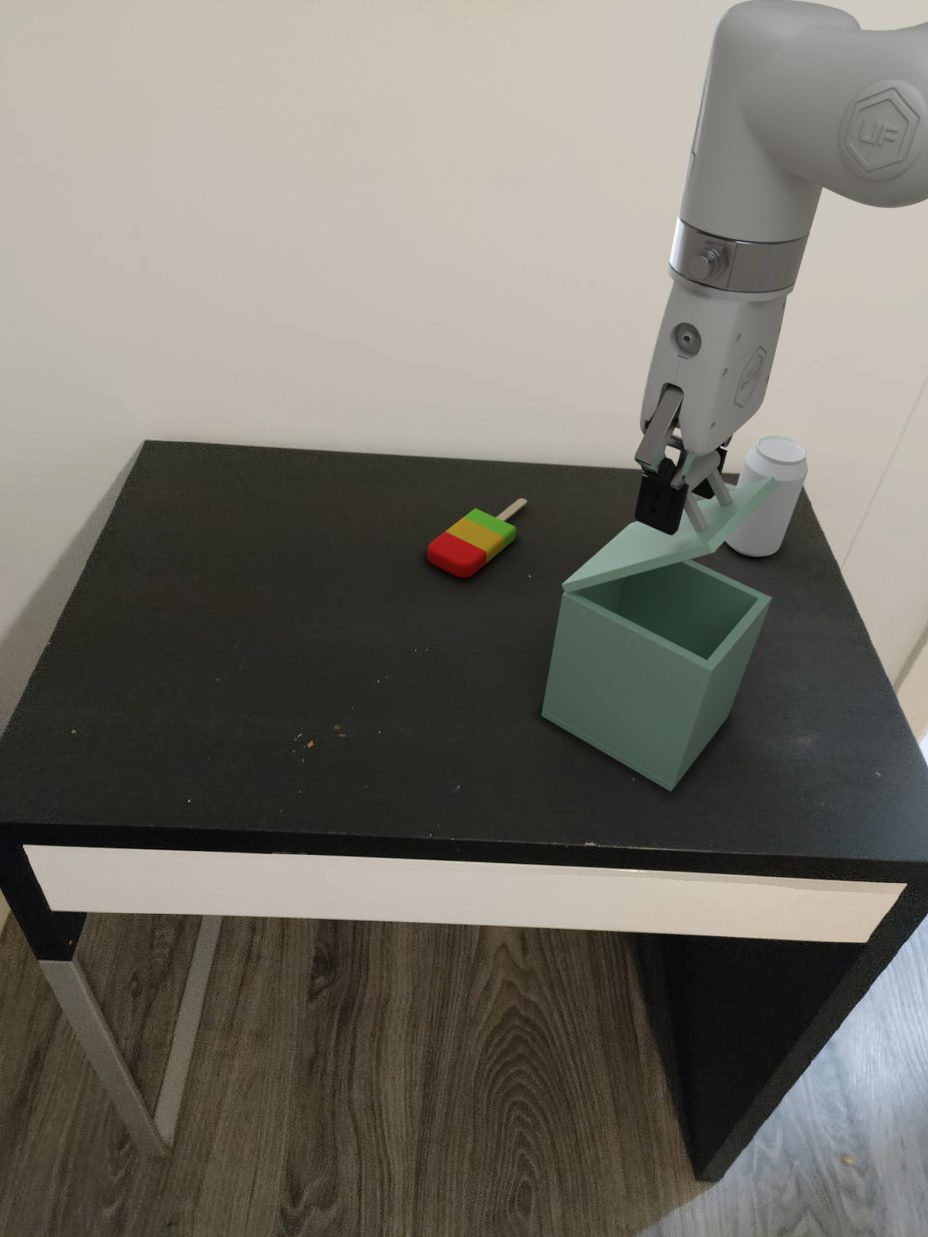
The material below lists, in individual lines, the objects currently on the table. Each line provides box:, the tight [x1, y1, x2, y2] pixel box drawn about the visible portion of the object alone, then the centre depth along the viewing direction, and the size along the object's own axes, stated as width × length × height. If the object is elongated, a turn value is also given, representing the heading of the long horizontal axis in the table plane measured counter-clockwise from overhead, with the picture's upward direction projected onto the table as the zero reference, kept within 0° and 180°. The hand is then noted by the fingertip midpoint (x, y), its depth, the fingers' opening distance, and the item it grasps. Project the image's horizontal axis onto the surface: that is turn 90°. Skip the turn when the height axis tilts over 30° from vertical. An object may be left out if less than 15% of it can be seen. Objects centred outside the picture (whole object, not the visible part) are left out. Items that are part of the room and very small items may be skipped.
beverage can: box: [724, 435, 809, 558], centre depth 96 cm, size 6×6×12 cm
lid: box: [561, 450, 778, 593], centre depth 68 cm, size 14×11×5 cm
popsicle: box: [426, 497, 528, 579], centre depth 98 cm, size 6×15×2 cm, turn 145°
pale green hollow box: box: [540, 559, 773, 792], centre depth 76 cm, size 13×11×14 cm
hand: (675, 506), depth 67 cm, fingers open, 5 cm apart
